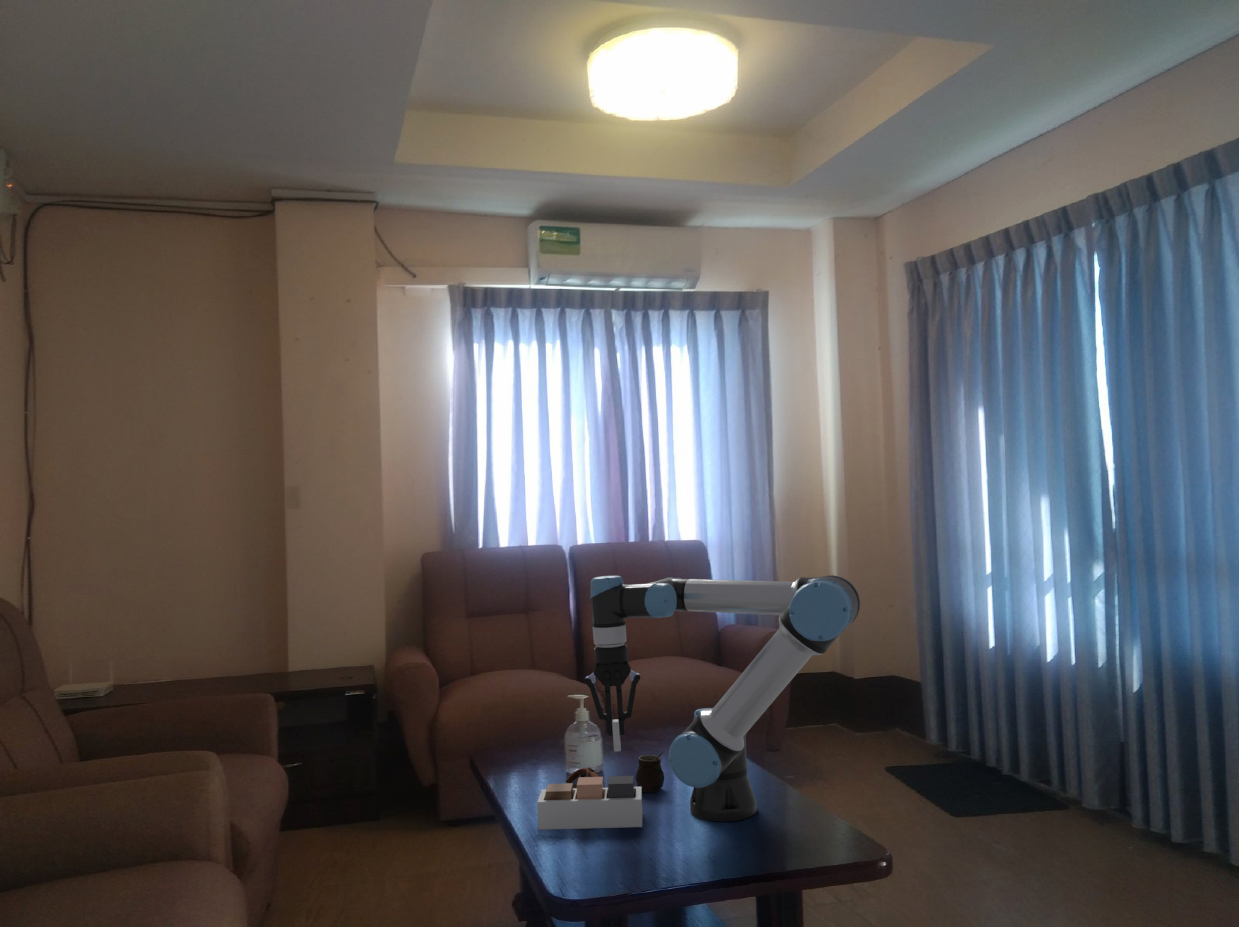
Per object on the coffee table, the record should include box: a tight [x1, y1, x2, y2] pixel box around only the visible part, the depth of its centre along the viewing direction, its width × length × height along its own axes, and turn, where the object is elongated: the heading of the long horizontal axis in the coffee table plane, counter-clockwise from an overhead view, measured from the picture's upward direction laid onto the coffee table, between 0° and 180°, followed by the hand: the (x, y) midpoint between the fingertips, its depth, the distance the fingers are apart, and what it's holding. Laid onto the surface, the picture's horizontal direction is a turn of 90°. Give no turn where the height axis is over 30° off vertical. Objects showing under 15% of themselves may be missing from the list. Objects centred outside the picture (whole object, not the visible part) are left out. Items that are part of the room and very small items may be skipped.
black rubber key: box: [607, 775, 635, 798], centre depth 206 cm, size 6×6×5 cm
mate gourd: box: [635, 750, 665, 794], centre depth 226 cm, size 7×8×10 cm
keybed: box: [536, 786, 644, 831], centre depth 206 cm, size 23×9×6 cm, turn 88°
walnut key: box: [545, 782, 574, 800], centre depth 206 cm, size 6×6×5 cm
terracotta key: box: [576, 776, 604, 799], centre depth 206 cm, size 6×6×5 cm
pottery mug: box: [565, 767, 606, 788], centre depth 223 cm, size 12×10×8 cm
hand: (617, 749), depth 206 cm, fingers closed
